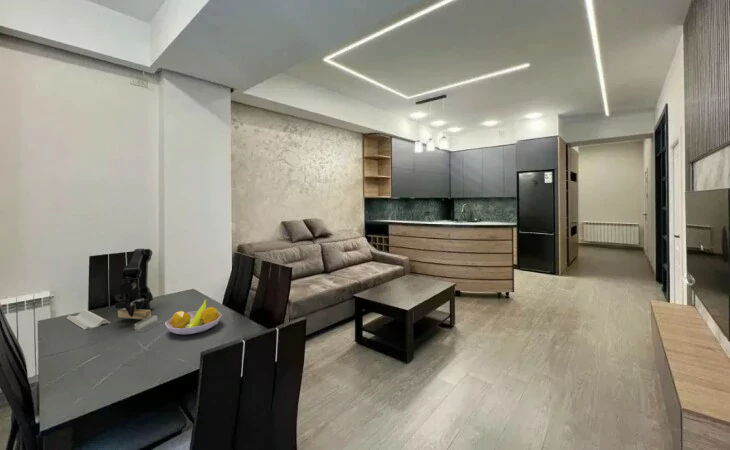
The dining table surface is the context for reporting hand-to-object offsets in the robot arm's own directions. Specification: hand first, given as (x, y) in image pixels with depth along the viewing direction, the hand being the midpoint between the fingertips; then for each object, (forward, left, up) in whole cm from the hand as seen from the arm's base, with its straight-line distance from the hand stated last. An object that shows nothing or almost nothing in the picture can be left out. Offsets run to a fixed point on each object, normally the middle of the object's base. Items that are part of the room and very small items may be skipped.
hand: (134, 315), depth 176 cm
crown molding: (+1, -28, -4) cm, 28 cm away
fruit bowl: (+7, +42, -4) cm, 43 cm away
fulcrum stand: (+7, +13, -4) cm, 15 cm away
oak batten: (0, 0, -1) cm, 1 cm away
